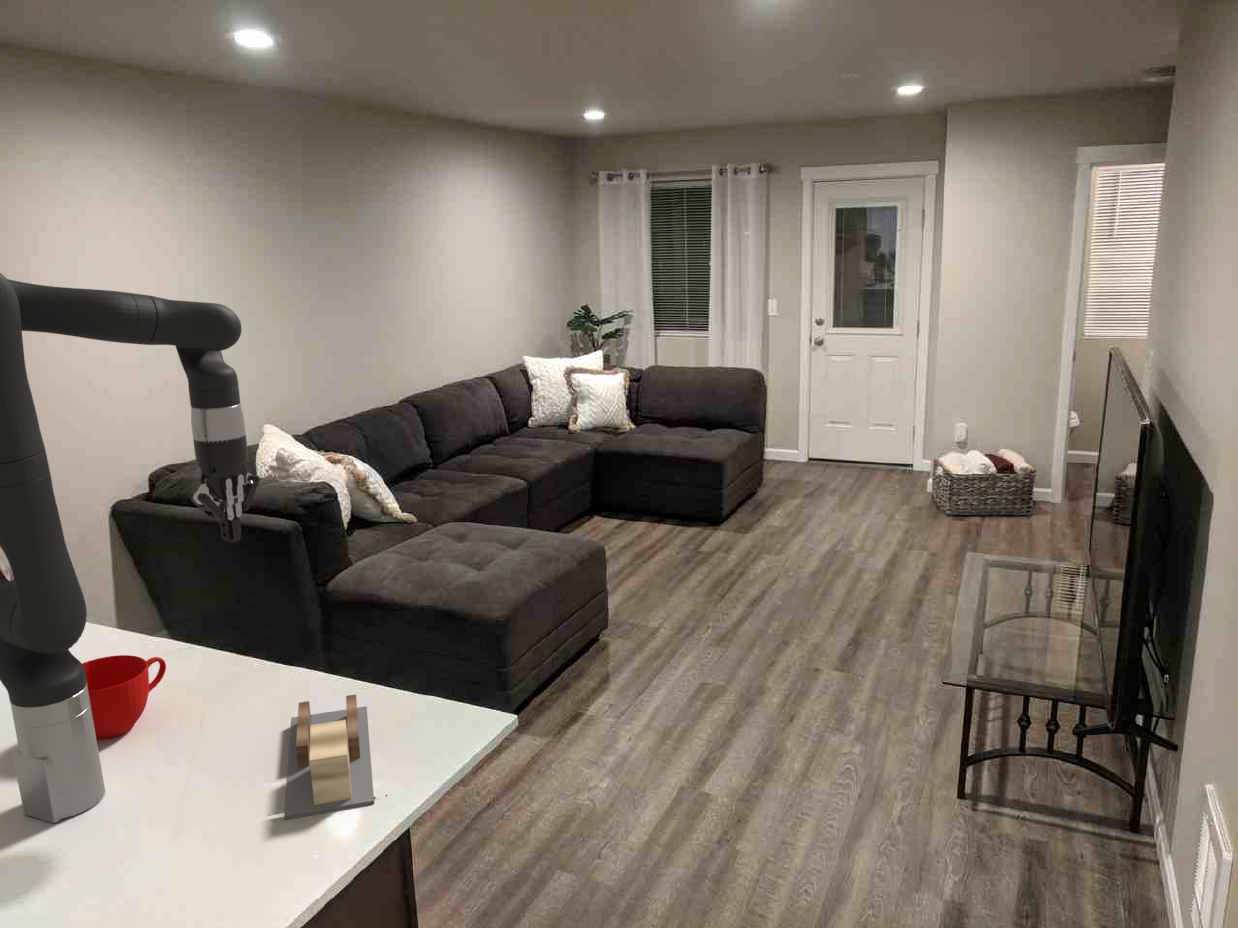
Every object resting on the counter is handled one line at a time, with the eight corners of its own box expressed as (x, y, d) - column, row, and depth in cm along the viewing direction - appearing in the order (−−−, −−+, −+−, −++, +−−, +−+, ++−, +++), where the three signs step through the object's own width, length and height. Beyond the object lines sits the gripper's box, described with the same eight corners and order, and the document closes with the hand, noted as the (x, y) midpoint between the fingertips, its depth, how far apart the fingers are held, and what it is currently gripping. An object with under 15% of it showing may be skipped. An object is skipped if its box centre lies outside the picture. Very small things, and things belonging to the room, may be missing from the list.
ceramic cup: (193, 710, 158) (186, 656, 156) (96, 758, 144) (86, 699, 142) (146, 692, 165) (139, 639, 162) (49, 736, 151) (39, 680, 148)
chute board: (374, 803, 132) (373, 800, 132) (284, 819, 129) (284, 816, 129) (366, 708, 158) (366, 706, 158) (291, 720, 155) (291, 717, 155)
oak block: (351, 798, 133) (347, 754, 131) (314, 804, 131) (309, 760, 129) (349, 761, 142) (345, 719, 140) (315, 766, 140) (310, 724, 139)
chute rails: (360, 757, 143) (358, 736, 142) (298, 767, 140) (296, 746, 139) (357, 713, 156) (356, 694, 155) (300, 721, 153) (298, 702, 152)
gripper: (205, 444, 137) (219, 557, 141) (268, 427, 149) (280, 530, 153) (166, 441, 139) (181, 551, 144) (231, 424, 151) (243, 526, 156)
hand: (232, 540), depth 148 cm, fingers closed
